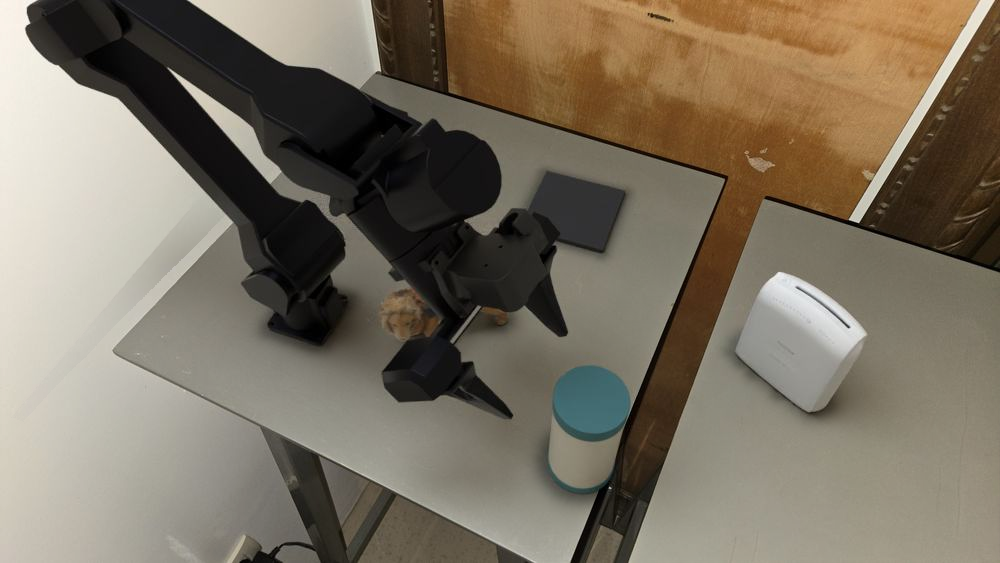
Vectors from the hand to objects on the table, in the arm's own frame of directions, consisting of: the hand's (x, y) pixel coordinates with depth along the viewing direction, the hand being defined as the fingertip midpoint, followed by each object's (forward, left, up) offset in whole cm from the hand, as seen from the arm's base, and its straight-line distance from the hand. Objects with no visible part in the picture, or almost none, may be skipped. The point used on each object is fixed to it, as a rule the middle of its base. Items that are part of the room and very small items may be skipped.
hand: (537, 375), depth 62 cm
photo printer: (+21, +15, -12) cm, 28 cm away
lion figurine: (-12, +8, -12) cm, 19 cm away
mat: (-5, +29, -11) cm, 32 cm away
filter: (+5, -1, -11) cm, 12 cm away
